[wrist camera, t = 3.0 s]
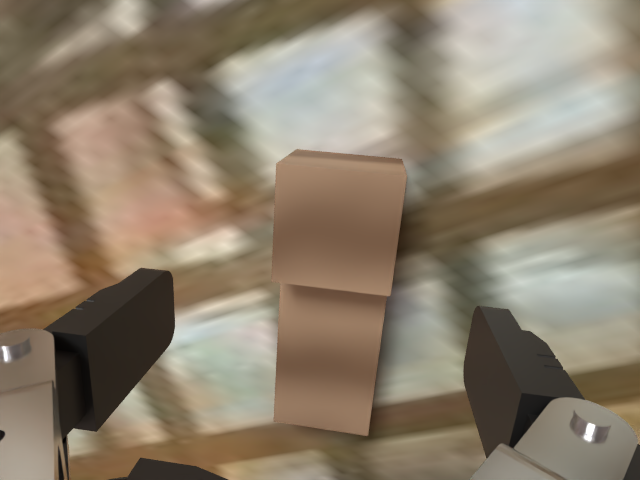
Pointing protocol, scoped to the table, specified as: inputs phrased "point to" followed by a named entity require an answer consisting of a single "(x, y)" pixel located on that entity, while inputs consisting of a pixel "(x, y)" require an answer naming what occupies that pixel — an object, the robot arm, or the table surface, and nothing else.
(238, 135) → the table surface
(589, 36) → the table surface
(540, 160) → the table surface
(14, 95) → the table surface
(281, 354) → the block
